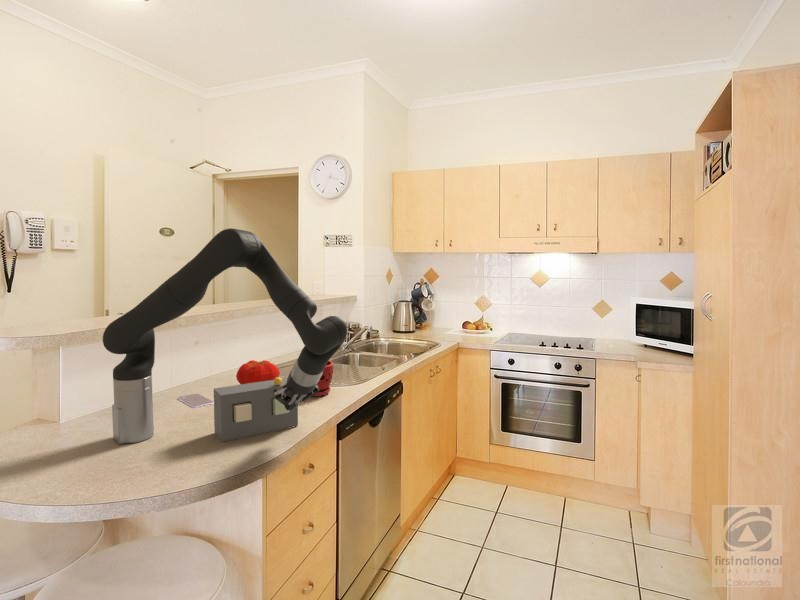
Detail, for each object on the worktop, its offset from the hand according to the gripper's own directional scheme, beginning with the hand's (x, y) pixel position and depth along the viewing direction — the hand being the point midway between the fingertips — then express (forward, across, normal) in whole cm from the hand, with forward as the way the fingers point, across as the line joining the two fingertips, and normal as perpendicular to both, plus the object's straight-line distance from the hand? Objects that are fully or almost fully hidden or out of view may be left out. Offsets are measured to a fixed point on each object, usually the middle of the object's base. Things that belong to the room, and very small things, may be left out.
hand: (288, 407), depth 129 cm
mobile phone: (+41, +15, -28) cm, 52 cm away
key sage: (+7, 0, -2) cm, 7 cm away
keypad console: (+14, +6, -2) cm, 15 cm away
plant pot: (+31, -24, -18) cm, 43 cm away
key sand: (+7, +11, -2) cm, 13 cm away
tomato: (+46, -9, -33) cm, 57 cm away
